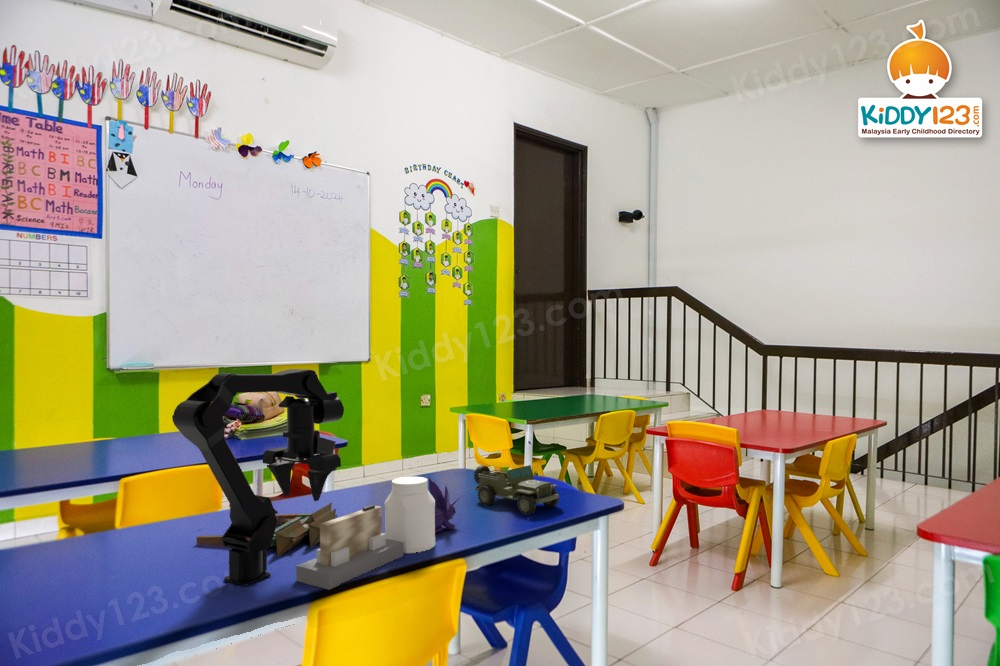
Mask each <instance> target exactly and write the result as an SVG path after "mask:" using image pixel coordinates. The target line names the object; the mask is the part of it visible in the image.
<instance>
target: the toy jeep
mask: <svg viewBox="0 0 1000 666" xmlns="http://www.w3.org/2000/svg"><path fill="white" fill-rule="evenodd" d="M473 473H474V474H473V479H474V482H475V483H476V484H478V485H475V487H474V489H475V491H478V492H477V498H478V502H480V504H481V505H483V506H486V505H488V506H491V505H493V504H494V502H495V501H496V497H498V498H499V497H500V498H502V499H503V498H504V499H507V500H508V499H509V500H514V501H517V502H516V505H517V506H516V507H517V509H518V511H519V513H520V514H522V515H525V514H527V515H526V516H529V515H532V514H534V513H535V512H536V510H537V505H540V504H543V506H544V507H545V508H552V509H553V508H554V507H557V506H558V505H559V503H560V494H559V492H558V490H556V488H557V487H558V484H554V483H552V482H549V481H543V480H537V479H535V476H534V473H533V470H532V466H531V464H528V465H525V466H520V467H517V468H511V469H508V470H502V469H494V470H491V469H490V468H489V467H488V466H487V465H483V464H482V465H478V466H476V469H475V470H474V472H473Z"/></svg>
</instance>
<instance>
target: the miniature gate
mask: <svg viewBox="0 0 1000 666" xmlns="http://www.w3.org/2000/svg"><path fill="white" fill-rule="evenodd" d="M332 505H333V502H330V503H328V504H326V505H325V506H323V507H322V508H319V509H317V510H316V511H314V512H312V513H309V512H307V513H306V512H305V513H281V514H280V513H277V514H275V515H276V516H277V520H278V523H277V524H276V525H280V526H278V527H276V529H275V533H274V536H273V540H272V544H271V547H273V546H276V556H277V557H279V556H282V555H284V553H286V552H287V551H290V550H291V549H292V548H294V547H295V546H298V544H300V543H303V541H304V538H305V537H306V536H309V548H310V549H311V548H313V547H314V546H315V545H317V544H318V543H320V524H321V523H324V522H327V521H330V520H333V519H336V518H338V515H337V509H336V508H334V509H332ZM223 535H224V534H223ZM223 535H222V534H215V535H211V534H210V535H199V536H196V538H195V539H196V545H197V546H198V545H199V546H208V545H209V546H212V547H224V545H223V542H222V540H221V538H222V537H223ZM246 539H251V538H250V537H246Z"/></svg>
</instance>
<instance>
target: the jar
mask: <svg viewBox="0 0 1000 666" xmlns="http://www.w3.org/2000/svg"><path fill="white" fill-rule="evenodd" d="M384 531H385V532H384V534H386V539H389V540H394V541H399V542H403V554H417V553H416V552H418V553H423V552H426V550H427V551H429V550H432V549H433V548H434V547H435V546H436V533H435V499H434V498H433V496H432V495H431V494H430V490H429V479H428V478H426V477H423V476H402V477H401V476H400V477H397V478H393V479H392V480H391V492H390V493H389V495H388V496H387V497H386V499H385V501H384ZM422 551H423V552H422Z"/></svg>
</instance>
